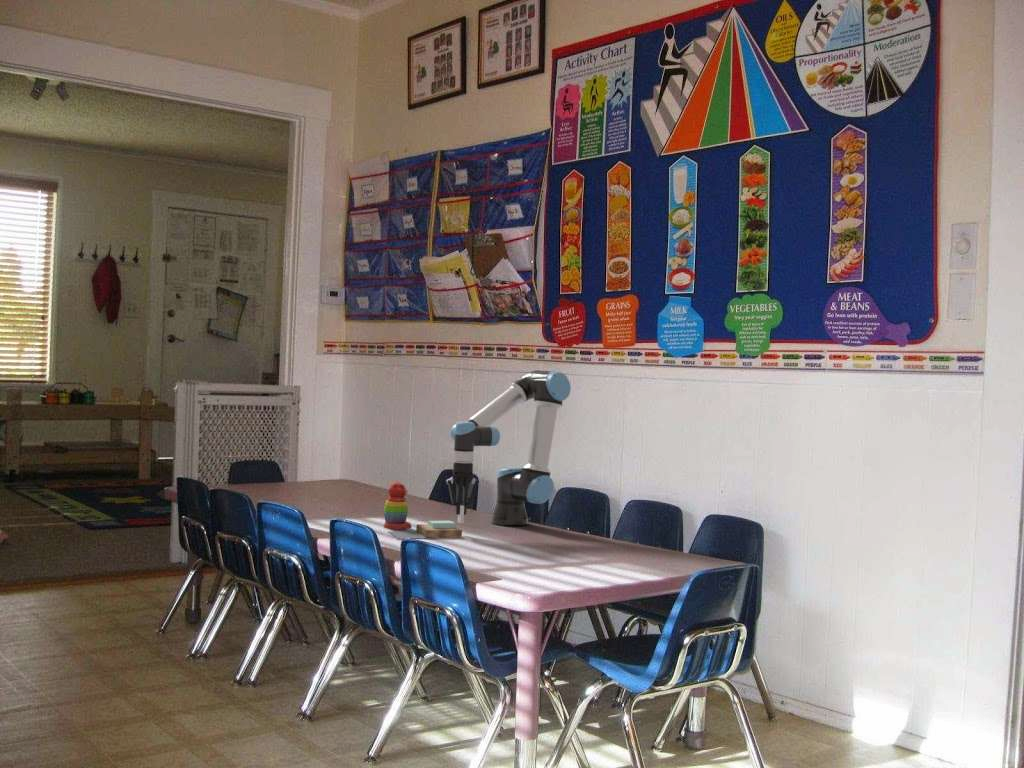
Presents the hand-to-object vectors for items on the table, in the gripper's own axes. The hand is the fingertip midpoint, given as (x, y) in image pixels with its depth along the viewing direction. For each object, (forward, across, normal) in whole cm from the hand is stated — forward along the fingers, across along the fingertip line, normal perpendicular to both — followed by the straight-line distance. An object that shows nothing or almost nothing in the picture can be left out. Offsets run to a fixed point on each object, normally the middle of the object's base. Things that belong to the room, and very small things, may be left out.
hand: (460, 522), depth 424 cm
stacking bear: (+5, +20, -19) cm, 28 cm away
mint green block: (+2, +8, 0) cm, 8 cm away
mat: (+5, +21, 0) cm, 21 cm away
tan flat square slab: (+5, +8, 0) cm, 10 cm away
